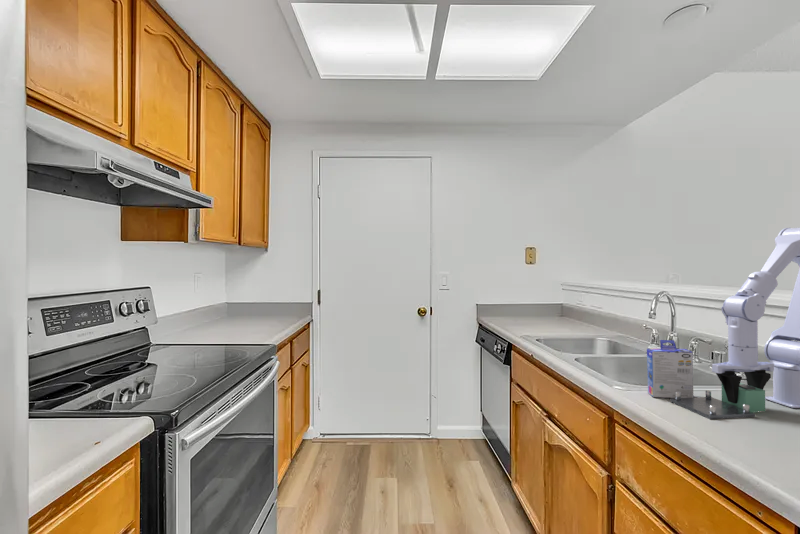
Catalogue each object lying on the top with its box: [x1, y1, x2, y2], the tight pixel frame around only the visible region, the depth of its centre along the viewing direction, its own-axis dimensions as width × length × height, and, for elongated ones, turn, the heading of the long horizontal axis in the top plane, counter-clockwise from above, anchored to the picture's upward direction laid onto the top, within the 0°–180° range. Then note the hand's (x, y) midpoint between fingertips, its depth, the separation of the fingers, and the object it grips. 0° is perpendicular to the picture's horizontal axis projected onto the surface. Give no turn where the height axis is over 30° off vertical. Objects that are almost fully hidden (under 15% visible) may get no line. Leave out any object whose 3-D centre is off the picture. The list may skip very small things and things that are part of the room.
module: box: [721, 382, 766, 413], centre depth 110 cm, size 5×7×5 cm
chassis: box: [670, 390, 756, 420], centre depth 109 cm, size 11×13×3 cm
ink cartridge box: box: [646, 339, 694, 399], centre depth 121 cm, size 10×6×14 cm, turn 78°
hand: (743, 401), depth 110 cm, fingers closed on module, 5 cm apart
